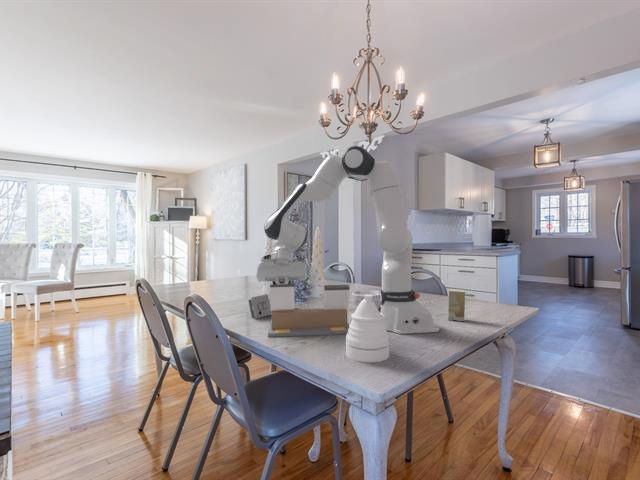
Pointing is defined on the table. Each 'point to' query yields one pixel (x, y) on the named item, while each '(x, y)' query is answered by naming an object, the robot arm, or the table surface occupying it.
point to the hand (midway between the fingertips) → (282, 288)
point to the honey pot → (367, 334)
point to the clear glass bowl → (359, 296)
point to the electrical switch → (260, 306)
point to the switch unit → (308, 322)
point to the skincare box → (456, 305)
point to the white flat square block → (336, 297)
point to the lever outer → (282, 297)
